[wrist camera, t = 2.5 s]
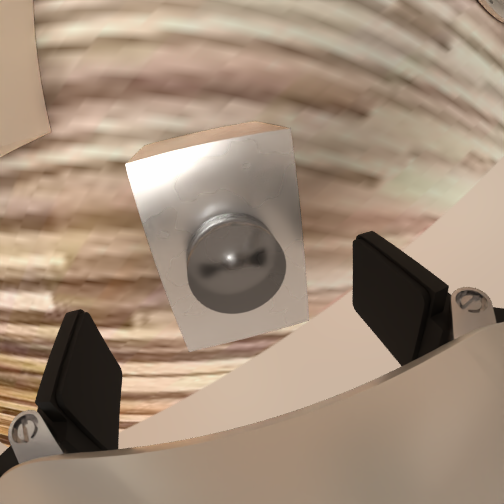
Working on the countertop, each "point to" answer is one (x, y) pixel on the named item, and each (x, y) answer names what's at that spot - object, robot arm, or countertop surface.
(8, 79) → the stand
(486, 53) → the countertop surface
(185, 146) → the housing
